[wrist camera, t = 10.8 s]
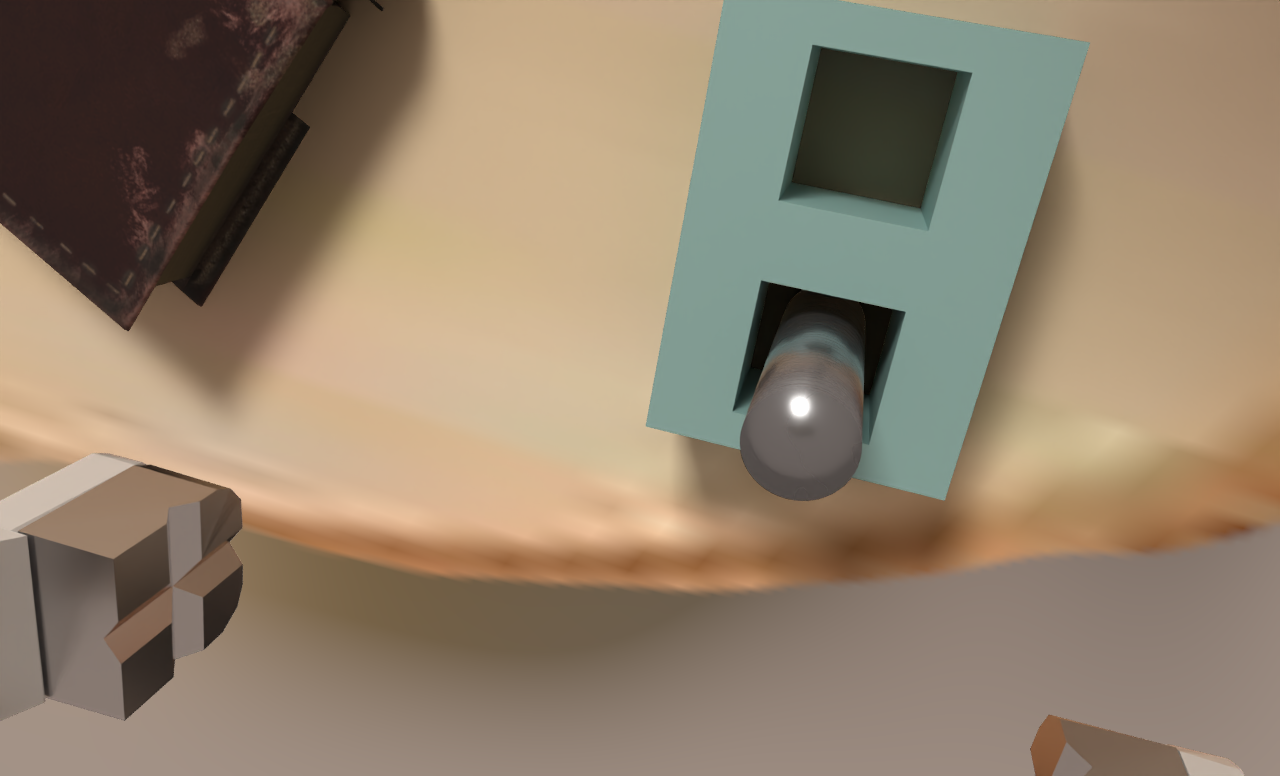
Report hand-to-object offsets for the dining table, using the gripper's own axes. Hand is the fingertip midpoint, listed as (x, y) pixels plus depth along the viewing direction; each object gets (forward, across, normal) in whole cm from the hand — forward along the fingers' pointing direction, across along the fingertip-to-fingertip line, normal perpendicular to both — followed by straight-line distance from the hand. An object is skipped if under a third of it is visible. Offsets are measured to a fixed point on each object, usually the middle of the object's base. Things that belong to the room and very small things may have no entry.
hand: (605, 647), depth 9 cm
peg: (+26, -2, +4) cm, 27 cm away
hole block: (+26, -2, 0) cm, 26 cm away
